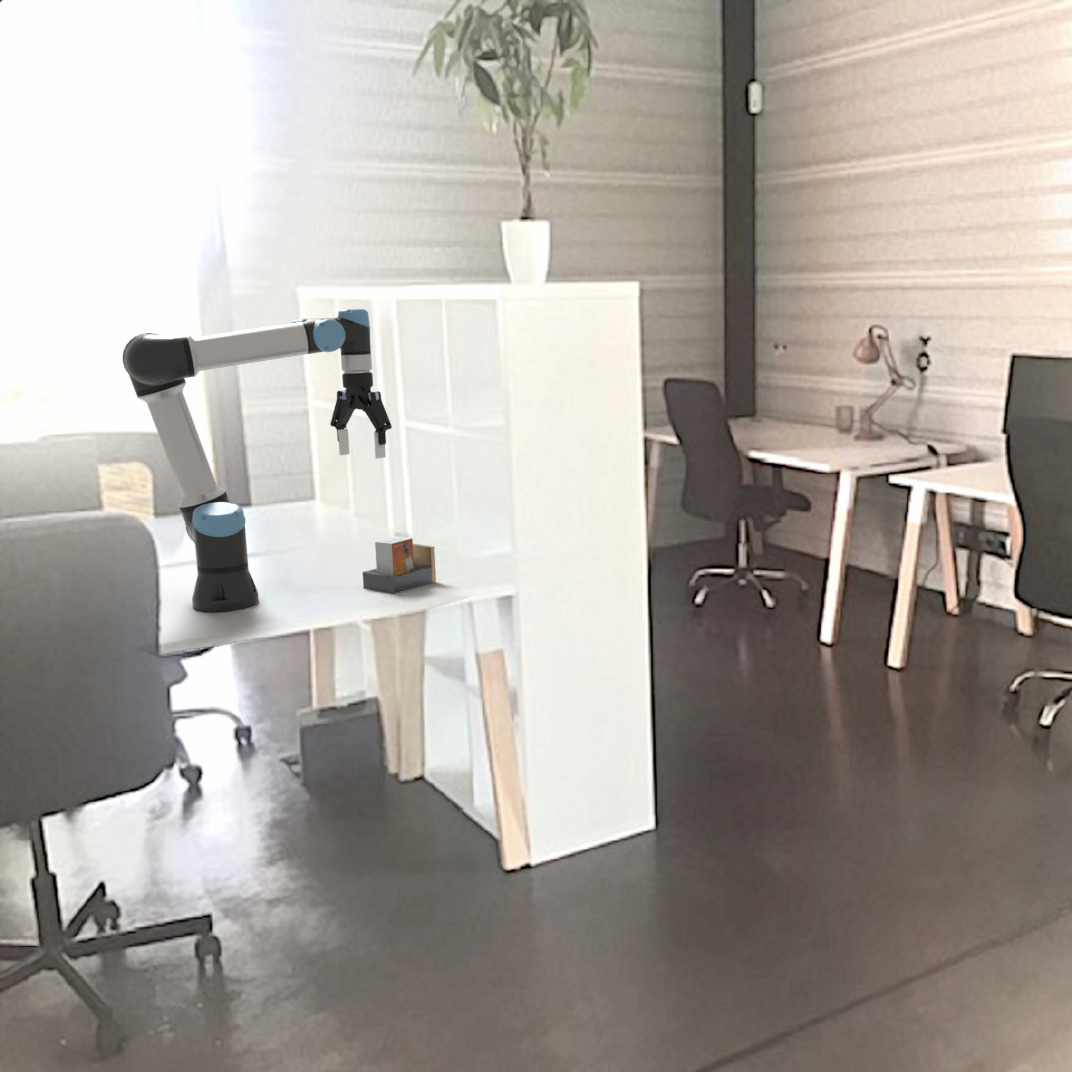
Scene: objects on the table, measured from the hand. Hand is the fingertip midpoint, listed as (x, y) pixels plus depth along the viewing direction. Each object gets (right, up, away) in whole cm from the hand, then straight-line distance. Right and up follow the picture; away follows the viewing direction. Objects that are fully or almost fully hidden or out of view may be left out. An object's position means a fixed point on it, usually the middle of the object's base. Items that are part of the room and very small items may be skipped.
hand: (362, 456), depth 300 cm
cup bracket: (+10, -32, -7) cm, 35 cm away
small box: (+9, -32, -7) cm, 34 cm away
